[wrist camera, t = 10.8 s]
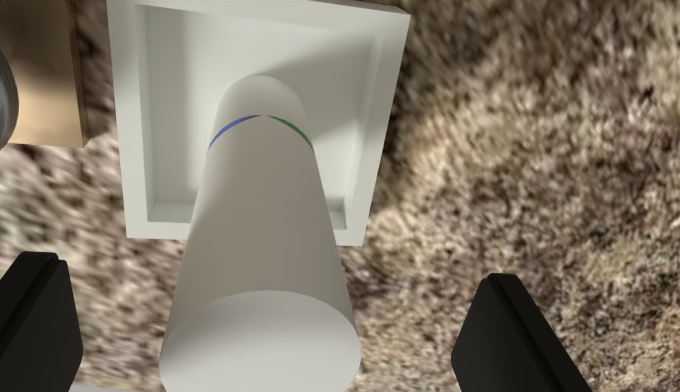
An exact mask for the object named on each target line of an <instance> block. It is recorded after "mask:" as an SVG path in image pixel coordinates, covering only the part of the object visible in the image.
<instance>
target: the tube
mask: <svg viewBox="0 0 680 392" xmlns="http://www.w3.org/2000/svg"><path fill="white" fill-rule="evenodd" d="M360 361H361V346H360V341H359V336H358V332H357V328H356V323H355V319H354V315H353V311H352V307H351V303H350V298H349V294H348V290H347V286H346V282H345V278H344V273H343V269H342V265H341V261H340V257H339V253H338V248H337V244H336V240H335V236H334V232H333V228H332V223H331V219H330V215H329V211H328V207H327V203H326V198H325V194H324V190H323V186H322V182H321V178H320V173H319V169H318V165H317V161H316V157H315V153H314V148H313V144H312V140H311V136H310V132H309V127H308V123H307V119H306V115H305V111H304V107H303V104H302V102H301V99H300V97H299V96H298V95H297V93H296V92H295V90H294V89H292V88H291V87H290V86H289V85H288V84H287V83H285V82H283V81H282V80H280V79H277V78H274V77H272V76H266V75H253V76H248V77H245V78H242V79H240V80H238V81H236V82H235V83H233V84H232V85H230V87H229V88H228V89H227V90H226V91H225V92H224V94H223V95H222V97H221V99H220V101H219V104H218V107H217V112H216V116H215V120H214V125H213V129H212V133H211V137H210V142H209V146H208V150H207V155H206V159H205V163H204V168H203V172H202V176H201V180H200V185H199V189H198V193H197V198H196V202H195V206H194V211H193V215H192V219H191V224H190V228H189V232H188V236H187V241H186V245H185V249H184V254H183V258H182V262H181V267H180V271H179V275H178V279H177V284H176V288H175V292H174V297H173V301H172V305H171V310H170V314H169V318H168V323H167V327H166V331H165V335H164V340H163V344H162V348H161V353H160V359H159V372H160V376H161V381H162V383H163V385H164V387H165V389H166V391H167V392H345V390H346V389H347V388H348V387H349V386H350V384H351V383H352V381H353V379H354V378H355V376H356V374H357V371H358V369H359V366H360Z"/></svg>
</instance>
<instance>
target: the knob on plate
mask: <svg viewBox="0 0 680 392" xmlns="http://www.w3.org/2000/svg"><path fill="white" fill-rule="evenodd" d="M89 140H90V136H89V128H88V119H87V111H86V103H85V94H84V86H83V77H82V69H81V61H80V52H79V44H78V36H77V27H76V19H75V10H74V2H73V0H0V150H1V149H2V148H3V147H4V146H5V145H6V144H7V143H21V144H35V145H49V146H63V147H77V148H84V146H85V145H86V144H87V143H88V141H89Z"/></svg>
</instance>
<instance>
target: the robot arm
mask: <svg viewBox="0 0 680 392" xmlns="http://www.w3.org/2000/svg"><path fill="white" fill-rule="evenodd" d="M82 355H83V344H82V339H81V334H80V328H79V323H78V318H77V312H76V307H75V302H74V297H73V291H72V286H71V281H70V275H69V270H68V265H67V262H66V261H65V260H59V258H58V256H57V254H56V253H52V252H31V251H24V252H22V253H21V254H20V255H19V256H18V257H17V258H16V260H15V261H14V262H13V264H12V265H11V266H10V268H9V269H8V270H7V272H6V273H5V274H4V276H3V277H2V278H1V280H0V392H68V391H69V389H70V387H71V384H72V382H73V380H74V378H75V375H76V373H77V371H78V368H79V366H80V363H81V360H82ZM451 363H452V367H453V370H454V373H455V375H456V378H457V381H458V383H459V386H460V389H461V391H462V392H592V390H591V389H590V387H589V386H588V384H587V382H586V381H585V379H584V378H583V376H582V375H581V373H580V372H579V370H578V369H577V367H576V366H575V364H574V362H573V361H572V359H571V358H570V356H569V355H568V353H567V352H566V350H565V349H564V347H563V345H562V344H561V342H560V341H559V339H558V338H557V336H556V335H555V333H554V332H553V330H552V328H551V327H550V325H549V324H548V322H547V321H546V319H545V318H544V316H543V315H542V313H541V312H540V310H539V308H538V307H537V305H536V304H535V302H534V301H533V299H532V298H531V296H530V295H529V293H528V291H527V290H526V288H525V287H524V285H523V284H522V282H521V281H520V279H519V278H518V277H517V276H516V275H515V274H504V273H491V274H489V275H488V277H487V279H483V280H481V282H480V284H479V287H478V289H477V292H476V294H475V297H474V299H473V301H472V304H471V306H470V309H469V311H468V314H467V316H466V319H465V321H464V323H463V326H462V328H461V331H460V333H459V336H458V338H457V340H456V343H455V345H454V348H453V350H452V354H451Z"/></svg>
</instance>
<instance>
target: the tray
mask: <svg viewBox="0 0 680 392" xmlns="http://www.w3.org/2000/svg"><path fill="white" fill-rule="evenodd" d="M106 4H107V15H108V27H109V38H110V50H111V61H112V73H113V84H114V95H115V107H116V118H117V130H118V141H119V153H120V164H121V175H122V187H123V198H124V210H125V221H126V233H127V238H153V239H180V240H187V236H188V232H189V228H190V224H191V219H192V215H193V211H194V206H195V202H196V198H197V193H198V189H199V185H200V180H201V176H202V172H203V168H204V163H205V159H206V155H207V150H208V146H209V142H210V137H211V133H212V129H213V125H214V120H215V116H216V112H217V107H218V104H219V101H220V99H221V97H222V95H223V94H224V92H225V91H226V90H227V89H228V88H229V87H230V85H232V84H233V83H235V82H236V81H238V80H240V79H242V78H245V77H248V76H253V75H266V76H272V77H274V78H277V79H280V80H282V81H283V82H285V83H287V84H288V85H289V86H290V87H291V88H292V89H294V90H295V92H296V93H297V95H298V96H299V97H300V99H301V102H302V104H303V107H304V111H305V115H306V119H307V123H308V127H309V132H310V136H311V140H312V144H313V148H314V153H315V157H316V161H317V165H318V169H319V173H320V178H321V182H322V186H323V190H324V194H325V198H326V203H327V207H328V211H329V215H330V219H331V223H332V228H333V232H334V236H335V240H336V244H337V245H346V246H362V244H363V239H364V234H365V230H366V225H367V220H368V216H369V211H370V206H371V202H372V197H373V192H374V187H375V183H376V178H377V173H378V169H379V164H380V159H381V154H382V150H383V145H384V140H385V136H386V131H387V126H388V121H389V117H390V112H391V107H392V103H393V98H394V93H395V89H396V84H397V79H398V74H399V70H400V65H401V60H402V56H403V51H404V46H405V41H406V37H407V32H408V27H409V23H410V18H411V15H410V14H408V13H407V12H405V11H403V10H402V9H400V8H398V7H397V6H391V5H384V4H378V3H371V2H364V1H357V0H106Z"/></svg>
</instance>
